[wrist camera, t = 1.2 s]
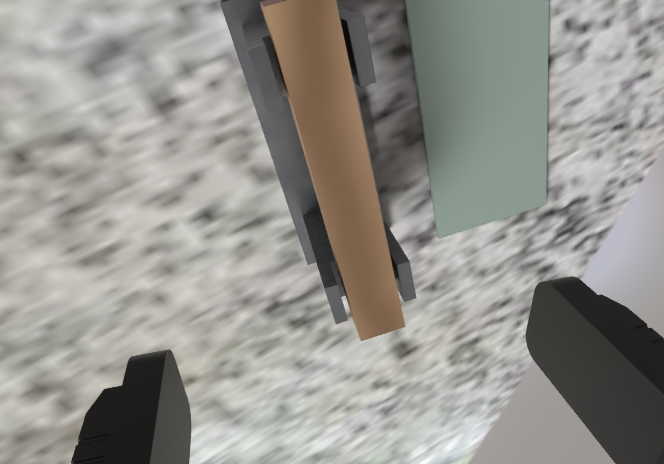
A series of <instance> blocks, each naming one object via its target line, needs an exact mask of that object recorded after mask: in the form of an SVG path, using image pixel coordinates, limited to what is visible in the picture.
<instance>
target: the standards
mask: <svg viewBox="0 0 664 464" xmlns="http://www.w3.org/2000/svg"><path fill="white" fill-rule="evenodd" d="M262 1H265V0H226V1H223V2H220V4H221V7H222V10H223V13H224V16H225V19H226V22H227V25H228V28H229V31H230V34H231V37H232V40H233V43H234V46H235V49H236V52H237V55H238V58H239V61H240V64H241V67H242V70H243V73H244V76H245V79H246V82H247V85H248V88H249V91H250V94H251V97H252V100H253V102H254V105H255V108H256V111H257V114H258V117H259V120H260V123H261V126H262V129H263V132H264V135H265V138H266V141H267V144H268V147H269V150H270V153H271V156H272V159H273V162H274V165H275V168H276V171H277V174H278V177H279V180H280V183H281V186H282V189H283V192H284V195H285V198H286V201H287V204H288V207H289V210H290V213H291V216H292V219H293V222H294V225H295V228H296V231H297V234H298V237H299V240H300V243H301V246H302V249H303V252H304V255H305V258H306V261H307V264H308V265H309V264H312V263H315V262H317V265H318V269H319V272H320V275H321V278H322V282H323V285H324V288H325V291H326V295H327V298H328V301H329V304H330V307H331V310H332V313H333V316H334V319H335V322H336V324H338V323H341V322H344V321H347V320H348V319H347V315H346V312H345V309H344V305H343V302H342V299H341V297H342V296H346V295H345V291H344V288H343V285H342V281H341V278H340V274H339V271H338V267H337V264H336V261H335V257H334V254H333V250H332V247H331V244H330V240H329V237H328V233H327V230H326V226H325V223H324V220H323V216H322V213H321V209H320V206H319V203H318V199H317V196H316V192H315V189H314V186H313V182H312V179H311V175H310V172H309V168H308V165H307V162H306V158H305V155H304V151H303V148H302V145H301V141H300V138H299V134H298V131H297V127H296V124H295V121H294V117H293V114H292V110H291V107H290V104H289V100H288V97H287V93H286V90H285V87H284V83H283V80H282V76H281V73H280V69H279V66H278V63H277V59H276V56H275V52H274V49H273V46H272V42H271V39H270V35H269V32H268V28H267V25H266V22H265V18H264V15H263V11H262V8H261V5H260V2H262ZM336 2H337V7H338V12H339V17H340V21H341V26H342V31H343V35H344V40H345V45H346V50H347V54H348V59H349V64H350V68H351V73H352V78H353V83H354V87H355V92H356V97H357V102H358V106H359V111H360V116H361V120H362V125H363V130H364V135H365V139H366V144H367V149H368V153H369V158H370V163H371V168H372V172H373V177H374V182H375V187H376V191H377V196H378V201H379V205H380V210H381V215H382V220H383V224H384V229H385V234H386V238H387V243H388V248H389V253H390V257H391V262H392V267H393V271H394V276H395V281H396V286H397V289H398V291H399V292H400V294H401V296H402V298H403V300H404V302H406V301H409V300H412V299H415V298H416V294H415V288H414V283H413V278H412V272H411V267H410V261H409V260H408V258H407V257H406V255H405V253H404V252H403V250H402V248H401V247H400V245H399V244H398V242H397V240H396V239H395V237H394V236H393V234H392V232H391V231H390V229H389V227H388V226H387V224H386V223H385V221H384V216H383V212H382V207H381V202H380V197H379V192H378V188H377V183H376V178H375V173H374V169H373V164H372V159H371V154H370V150H369V145H368V140H367V135H366V130H365V126H364V121H363V116H362V111H361V107H360V102H359V97H358V92H357V88H356V83H357V84H358V85H359V86H360V87H362V86H365V85H368V84H372V83H375V82H376V78H375V73H374V67H373V62H372V56H371V51H370V46H369V40H368V35H367V29H366V24H365V19H364V16H363V15H361V14H358V13H355V12H352V11H350V10H347V9H344V8H342V7H340V6H339V2H338V0H336ZM355 82H356V83H355Z"/></svg>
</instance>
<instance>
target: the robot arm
mask: <svg viewBox="0 0 664 464" xmlns="http://www.w3.org/2000/svg"><path fill="white" fill-rule="evenodd" d="M526 342H527V347H528V350H529V352H530V354H531V356H532V358H533V360H534V361H535V362H536V363H537V365H538V366H539V367H540V369H541V370H542V371H543V372H544V374H545V375H546V376H547V378H548V379H549V380H550V381H551V383H552V384H553V385H554V386H555V388H556V389H557V390H558V391H559V393H560V394H561V395H562V396H563V398H564V399H565V400H566V402H567V403H568V404H569V405H570V406H571V408H572V409H573V410H574V412H575V413H576V414H577V415H578V416H579V418H580V419H581V420H582V422H583V423H584V424H585V425H586V427H587V428H588V429H589V431H590V432H591V433H592V434H593V436H594V437H595V438H596V439H597V441H598V442H599V443H600V444H601V446H602V447H603V448H604V450H605V451H606V452H607V453H608V455H609V456H610V457H611V458H612V460H613V461H614V462H615V463H616V464H664V339H663V337H662V336H660V335H659V334H658V333H657V332H656V331H654V330H653V329H652V328H648V327H647V324H646V323H645V322H644V321H643V320H641V319H640V318H639V317H638V316H637V315H635V314H634V313H633V312H632V311H631V310H629V309H628V308H627V307H625V306H623V305H621V304H619V303H617V302H615V301H613V300H611V299H609V298H607V297H605V296H603V295H597V294H596V293H595V292H594V291H592V290H591V289H590V288H589V287H588V286H587V285H586V284H584V283H583V282H582V281H581V280H580V279H578V278H576V277H565V278H560V279H555V280H549V281H544V282H540V283H538V284H537V286H536V288H535V291H534V296H533V301H532V306H531V311H530V315H529V320H528V325H527V330H526ZM190 442H191V413H190V407H189V402H188V398H187V395H186V392H185V389H184V386H183V383H182V380H181V376H180V373H179V370H178V367H177V364H176V361H175V358H174V355H173V353H172V351H171V350H164V351H158V352H153V353H148V354H142V355H137V356H132V357H130V359H129V361H128V364H127V368H126V372H125V376H124V380H123V384H122V386H118V387H112V388H107V389H104V390H103V391H102V393H101V394H100V396H99V397H98V398H97V400H96V401H95V402H94V404H93V405H92V406H91V408H90V409H89V410H88V412H87V413H86V415H85V418H84V422H83V425H82V428H81V431H80V435H79V438H78V445H77V446H76V448H75V451H74V454H73V458H72V461H71V464H189V457H190Z"/></svg>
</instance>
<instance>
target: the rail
mask: <svg viewBox="0 0 664 464" xmlns="http://www.w3.org/2000/svg"><path fill="white" fill-rule="evenodd" d="M260 5H261V8H262V11H263V15H264V18H265V22H266V25H267V28H268V32H269V35H270V39H271V42H272V46H273V49H274V52H275V56H276V59H277V63H278V66H279V69H280V73H281V76H282V80H283V83H284V87H285V90H286V93H287V97H288V100H289V104H290V107H291V110H292V114H293V117H294V121H295V124H296V127H297V131H298V134H299V138H300V141H301V145H302V148H303V151H304V155H305V158H306V162H307V165H308V168H309V172H310V175H311V179H312V182H313V186H314V189H315V192H316V196H317V199H318V203H319V206H320V209H321V213H322V216H323V220H324V223H325V226H326V230H327V233H328V237H329V240H330V244H331V247H332V250H333V254H334V257H335V261H336V264H337V267H338V271H339V274H340V278H341V281H342V285H343V288H344V291H345V295H346V298H347V302H348V305H349V308H350V312H351V315H352V317H353V320H354V323H355V326H356V328H357V331H358V334H359V337H360V340H361V341H363V340H366V339H369V338H372V337H375V336H378V335H382V334H385V333H388V332H391V331H394V330H397V329H400V328H403V327H405V323H404V319H403V314H402V309H401V305H400V300H399V295H398V290H397V286H396V281H395V276H394V271H393V267H392V262H391V257H390V253H389V248H388V243H387V238H386V234H385V229H384V224H383V220H382V215H381V210H380V205H379V201H378V196H377V191H376V187H375V182H374V177H373V172H372V168H371V163H370V158H369V153H368V149H367V144H366V139H365V135H364V130H363V125H362V120H361V116H360V111H359V106H358V102H357V97H356V92H355V87H354V83H353V78H352V73H351V68H350V64H349V59H348V54H347V50H346V45H345V40H344V35H343V31H342V26H341V21H340V17H339V12H338V7H337V2H336V0H265V1H262V2H260Z"/></svg>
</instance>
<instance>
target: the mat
mask: <svg viewBox="0 0 664 464" xmlns="http://www.w3.org/2000/svg"><path fill="white" fill-rule="evenodd" d="M404 1H405V9H406V16H407V23H408V30H409V37H410V44H411V52H412V59H413V66H414V73H415V80H416V87H417V94H418V102H419V109H420V116H421V123H422V130H423V137H424V145H425V152H426V159H427V166H428V173H429V180H430V187H431V195H432V202H433V209H434V216H435V223H436V230H437V237H438V238H439V239H440V238H443V237H446V236H449V235H452V234H455V233H458V232H462V231H465V230H468V229H471V228H474V227H477V226H480V225H483V224H487V223H490V222H493V221H496V220H499V219H502V218H505V217H508V216H512V215H515V214H518V213H521V212H524V211H527V210H530V209H533V208H537V207H540V206H543V205H546V187H547V109H548V31H549V0H404Z"/></svg>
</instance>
